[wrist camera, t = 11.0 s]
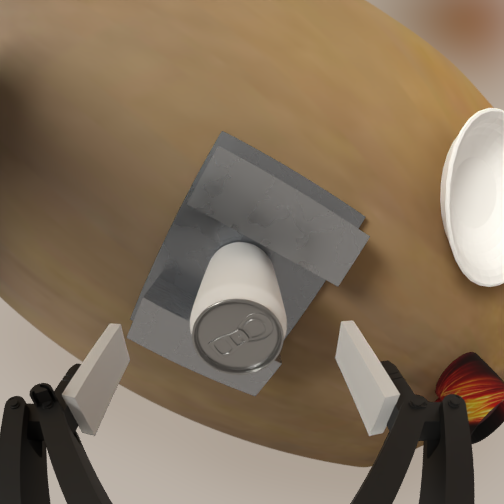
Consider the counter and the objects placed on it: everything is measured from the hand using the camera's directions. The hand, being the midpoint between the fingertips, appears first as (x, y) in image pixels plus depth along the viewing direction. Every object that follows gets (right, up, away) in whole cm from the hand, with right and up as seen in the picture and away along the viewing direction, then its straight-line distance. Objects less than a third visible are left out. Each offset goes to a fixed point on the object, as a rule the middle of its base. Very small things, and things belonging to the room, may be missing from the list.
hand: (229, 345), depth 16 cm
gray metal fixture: (0, +4, +13) cm, 14 cm away
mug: (+35, -17, +20) cm, 43 cm away
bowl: (+28, +13, +11) cm, 33 cm away
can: (0, +3, +13) cm, 13 cm away
